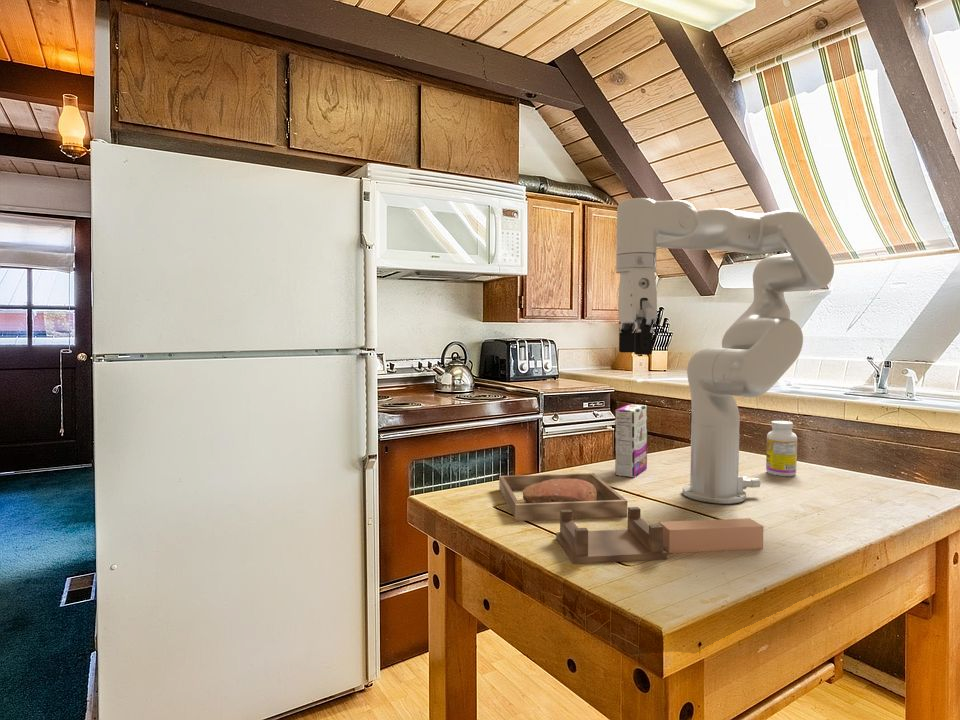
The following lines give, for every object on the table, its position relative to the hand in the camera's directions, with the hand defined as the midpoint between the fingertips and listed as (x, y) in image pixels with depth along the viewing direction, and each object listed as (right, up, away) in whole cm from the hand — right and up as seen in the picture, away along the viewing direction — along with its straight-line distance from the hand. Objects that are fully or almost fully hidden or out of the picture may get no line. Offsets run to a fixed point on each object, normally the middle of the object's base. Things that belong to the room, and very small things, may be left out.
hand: (634, 353), depth 114 cm
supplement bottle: (+44, -30, +30) cm, 61 cm away
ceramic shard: (-14, -31, +7) cm, 35 cm away
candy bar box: (+8, -30, +32) cm, 44 cm away
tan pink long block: (+8, -32, -17) cm, 37 cm away
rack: (-9, -32, -18) cm, 38 cm away
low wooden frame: (-14, -31, +8) cm, 35 cm away
